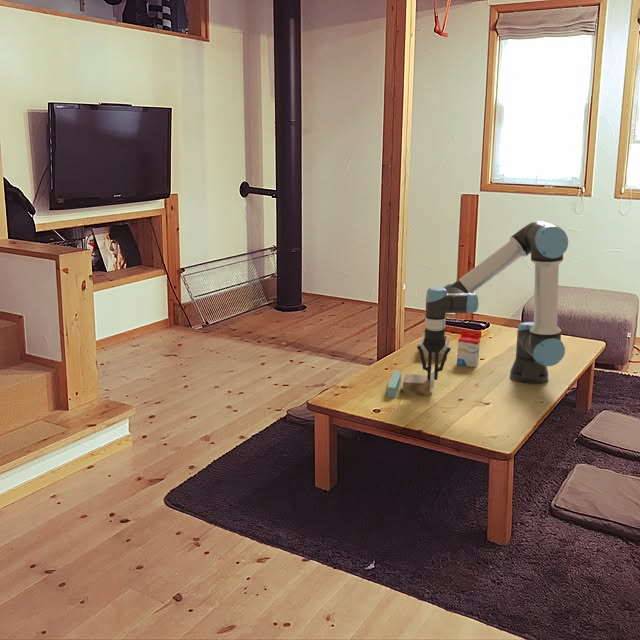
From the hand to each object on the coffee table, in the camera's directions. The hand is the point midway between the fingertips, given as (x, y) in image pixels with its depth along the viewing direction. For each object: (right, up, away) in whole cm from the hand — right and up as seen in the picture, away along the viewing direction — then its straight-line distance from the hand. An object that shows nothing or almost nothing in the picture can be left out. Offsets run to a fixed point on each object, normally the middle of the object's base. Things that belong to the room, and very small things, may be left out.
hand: (432, 387), depth 302 cm
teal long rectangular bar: (-14, -1, +3) cm, 15 cm away
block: (-6, -2, +1) cm, 6 cm away
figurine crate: (+8, +11, +48) cm, 50 cm away
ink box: (+20, +7, +34) cm, 40 cm away
